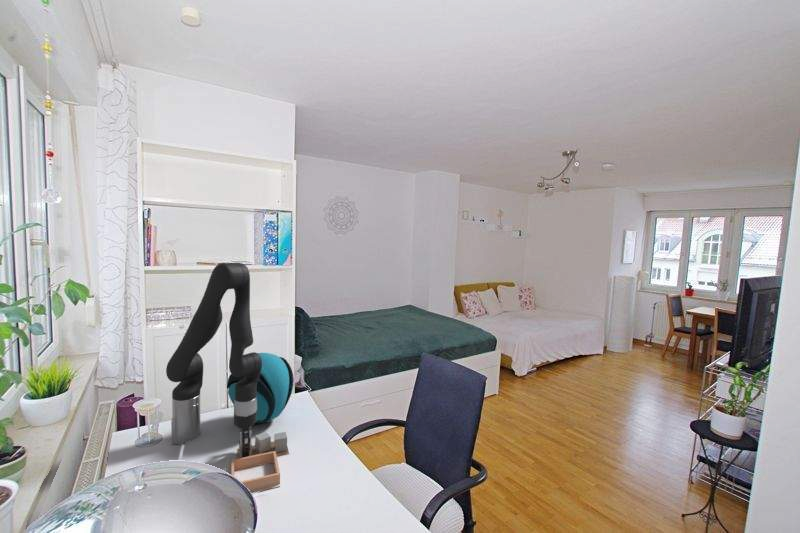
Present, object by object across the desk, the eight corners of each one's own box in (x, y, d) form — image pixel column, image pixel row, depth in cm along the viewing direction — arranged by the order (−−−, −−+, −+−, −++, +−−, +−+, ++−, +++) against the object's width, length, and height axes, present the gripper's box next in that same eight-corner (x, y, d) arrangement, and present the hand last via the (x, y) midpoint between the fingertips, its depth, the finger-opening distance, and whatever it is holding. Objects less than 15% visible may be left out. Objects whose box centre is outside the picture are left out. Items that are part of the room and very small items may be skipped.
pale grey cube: (259, 453, 128) (260, 440, 128) (255, 448, 131) (255, 435, 130) (270, 449, 131) (270, 436, 131) (265, 444, 134) (265, 431, 133)
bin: (231, 499, 108) (231, 485, 107) (231, 472, 119) (231, 460, 119) (279, 487, 114) (280, 474, 113) (275, 462, 125) (275, 450, 125)
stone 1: (239, 460, 124) (239, 446, 123) (239, 453, 127) (239, 440, 127) (251, 457, 126) (251, 444, 125) (251, 451, 129) (251, 438, 129)
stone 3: (275, 452, 129) (275, 439, 129) (274, 446, 133) (274, 433, 132) (286, 450, 131) (287, 437, 130) (285, 444, 134) (285, 431, 134)
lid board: (237, 468, 122) (237, 465, 121) (237, 451, 131) (237, 448, 130) (289, 457, 129) (289, 454, 129) (285, 442, 138) (285, 439, 138)
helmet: (303, 420, 154) (305, 353, 152) (257, 446, 134) (258, 370, 131) (263, 403, 168) (264, 341, 165) (216, 425, 147) (216, 354, 144)
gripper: (233, 402, 130) (233, 447, 131) (234, 421, 117) (233, 470, 118) (255, 399, 133) (255, 442, 135) (258, 417, 120) (258, 465, 122)
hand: (245, 455), depth 126 cm, fingers closed on stone 1, 4 cm apart
